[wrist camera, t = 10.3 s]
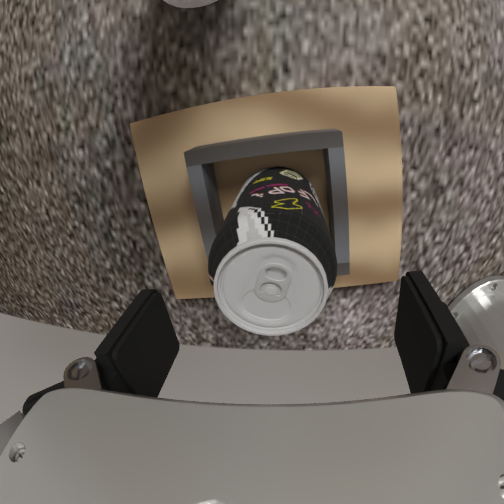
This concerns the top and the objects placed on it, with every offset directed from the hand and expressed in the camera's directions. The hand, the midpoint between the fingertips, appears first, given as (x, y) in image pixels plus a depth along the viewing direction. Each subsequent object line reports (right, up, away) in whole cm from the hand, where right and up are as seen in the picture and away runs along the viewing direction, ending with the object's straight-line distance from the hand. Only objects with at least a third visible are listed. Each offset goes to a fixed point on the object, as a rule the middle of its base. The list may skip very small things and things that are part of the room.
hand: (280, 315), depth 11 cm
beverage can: (+1, +6, +11) cm, 13 cm away
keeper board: (+1, +7, +12) cm, 14 cm away
